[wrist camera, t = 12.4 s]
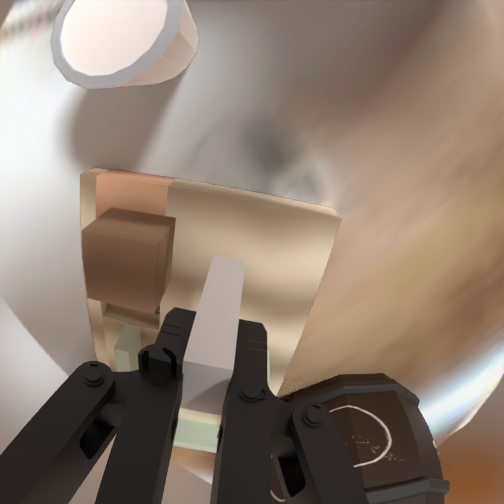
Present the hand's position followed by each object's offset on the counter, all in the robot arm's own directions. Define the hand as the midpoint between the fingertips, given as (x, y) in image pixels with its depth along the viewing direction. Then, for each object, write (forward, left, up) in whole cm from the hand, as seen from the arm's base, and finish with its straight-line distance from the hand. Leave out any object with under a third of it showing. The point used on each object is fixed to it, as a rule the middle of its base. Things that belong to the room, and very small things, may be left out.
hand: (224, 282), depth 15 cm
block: (+1, -6, -5) cm, 8 cm away
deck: (+10, -2, -7) cm, 12 cm away
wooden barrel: (+20, +15, -7) cm, 26 cm away
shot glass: (-12, -7, -7) cm, 15 cm away
